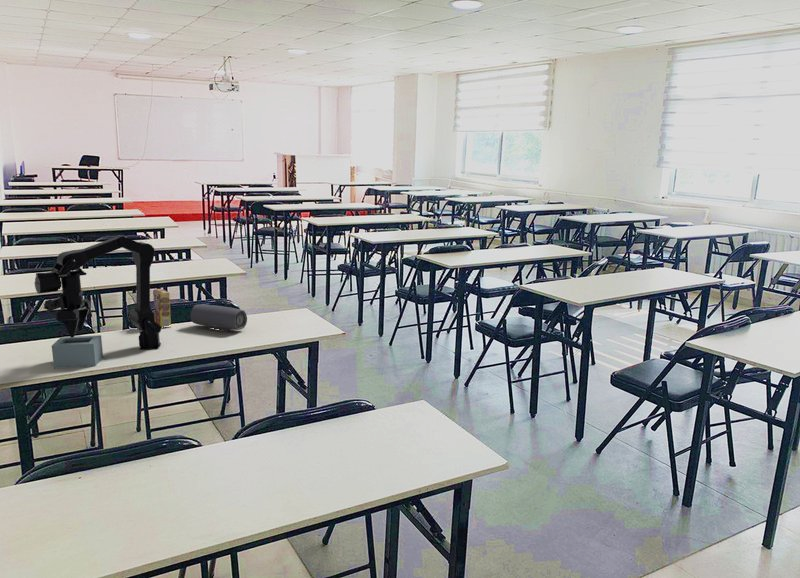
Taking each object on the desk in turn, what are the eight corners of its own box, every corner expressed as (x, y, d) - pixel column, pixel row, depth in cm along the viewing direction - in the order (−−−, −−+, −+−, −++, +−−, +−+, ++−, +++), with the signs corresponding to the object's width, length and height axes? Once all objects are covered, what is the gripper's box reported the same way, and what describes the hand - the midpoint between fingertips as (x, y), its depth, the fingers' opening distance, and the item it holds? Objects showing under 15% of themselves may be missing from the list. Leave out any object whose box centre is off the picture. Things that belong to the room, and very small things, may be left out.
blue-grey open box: (103, 356, 216) (101, 335, 214) (95, 365, 207) (93, 343, 205) (63, 358, 213) (61, 337, 212) (54, 368, 204) (51, 345, 202)
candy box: (172, 327, 254) (169, 292, 251) (161, 328, 252) (159, 293, 248) (165, 322, 261) (162, 288, 258) (154, 324, 258) (152, 289, 255)
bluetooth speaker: (248, 329, 253) (247, 306, 250) (234, 335, 244) (233, 311, 242) (205, 323, 261) (203, 301, 259) (190, 328, 252) (188, 305, 250)
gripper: (54, 284, 212) (59, 327, 215) (35, 296, 194) (41, 342, 197) (89, 283, 214) (93, 325, 217) (73, 295, 196) (78, 340, 199)
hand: (76, 333), depth 208 cm, fingers open, 9 cm apart
